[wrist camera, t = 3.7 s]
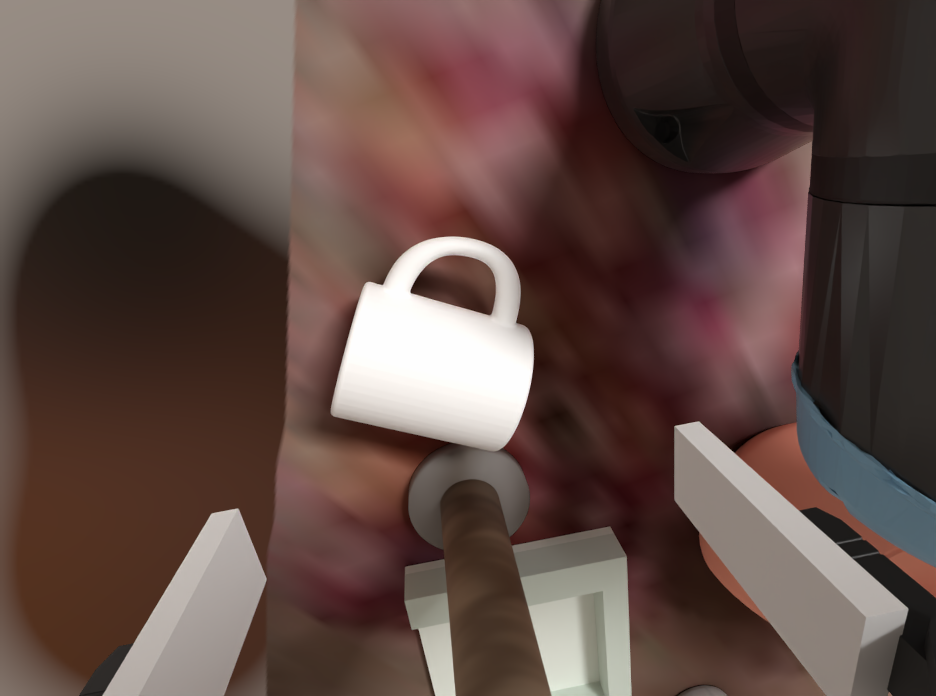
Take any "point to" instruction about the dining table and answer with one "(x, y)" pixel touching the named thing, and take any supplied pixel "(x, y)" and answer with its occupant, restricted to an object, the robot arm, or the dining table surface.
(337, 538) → the dining table surface
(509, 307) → the mug
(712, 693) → the cupcake
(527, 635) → the bobbin
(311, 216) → the dining table surface
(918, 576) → the teapot
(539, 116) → the dining table surface
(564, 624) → the notched board
